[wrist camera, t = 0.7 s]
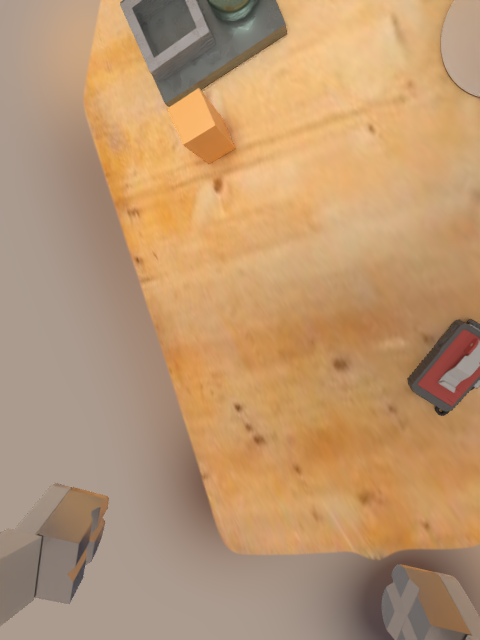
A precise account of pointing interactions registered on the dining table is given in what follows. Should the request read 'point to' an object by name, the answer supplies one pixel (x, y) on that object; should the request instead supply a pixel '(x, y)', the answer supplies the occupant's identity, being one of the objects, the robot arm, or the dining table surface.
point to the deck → (200, 38)
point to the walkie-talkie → (450, 367)
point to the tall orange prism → (201, 127)
